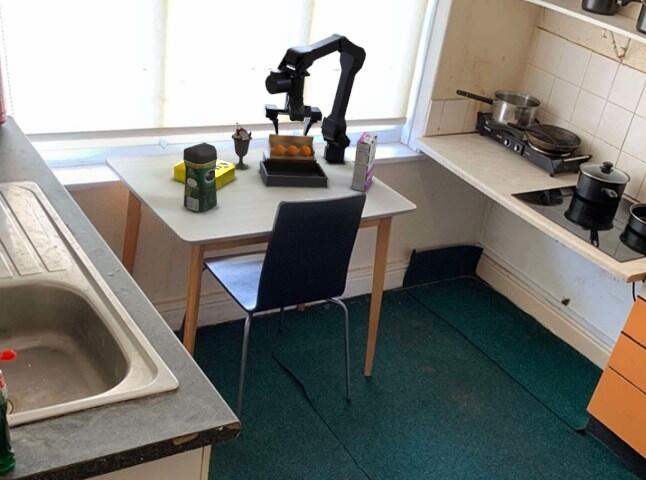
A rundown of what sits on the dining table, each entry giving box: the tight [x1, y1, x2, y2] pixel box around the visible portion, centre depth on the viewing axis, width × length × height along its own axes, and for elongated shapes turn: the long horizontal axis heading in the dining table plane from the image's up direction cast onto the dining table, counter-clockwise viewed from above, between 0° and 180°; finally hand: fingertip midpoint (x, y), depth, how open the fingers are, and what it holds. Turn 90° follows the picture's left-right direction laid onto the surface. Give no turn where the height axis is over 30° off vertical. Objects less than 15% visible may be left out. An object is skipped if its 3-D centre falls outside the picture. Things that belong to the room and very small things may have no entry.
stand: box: [262, 150, 318, 163], centre depth 258 cm, size 17×7×6 cm, turn 107°
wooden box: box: [266, 133, 316, 160], centre depth 253 cm, size 15×6×6 cm, turn 107°
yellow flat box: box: [173, 159, 236, 190], centre depth 243 cm, size 15×15×5 cm
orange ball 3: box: [300, 146, 311, 157], centre depth 254 cm, size 4×4×4 cm
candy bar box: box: [351, 131, 379, 193], centre depth 254 cm, size 11×5×16 cm, turn 168°
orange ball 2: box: [287, 145, 298, 156], centre depth 253 cm, size 4×4×4 cm
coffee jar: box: [182, 142, 218, 213], centre depth 221 cm, size 10×8×19 cm
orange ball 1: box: [274, 145, 285, 156], centre depth 251 cm, size 4×4×4 cm
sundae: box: [231, 122, 253, 171], centre depth 252 cm, size 7×7×15 cm
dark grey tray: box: [259, 160, 329, 189], centre depth 254 cm, size 20×13×4 cm, turn 107°
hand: (290, 138), depth 254 cm, fingers open, 9 cm apart
